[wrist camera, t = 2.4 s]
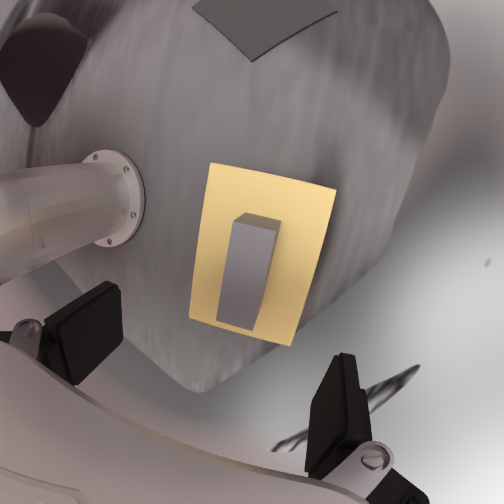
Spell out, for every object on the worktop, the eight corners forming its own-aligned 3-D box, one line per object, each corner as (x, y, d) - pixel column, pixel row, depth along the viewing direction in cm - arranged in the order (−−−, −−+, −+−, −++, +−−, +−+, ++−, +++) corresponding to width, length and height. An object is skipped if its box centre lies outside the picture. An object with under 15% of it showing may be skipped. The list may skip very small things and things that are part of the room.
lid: (291, 339, 23) (286, 373, 19) (192, 312, 24) (171, 339, 20) (334, 189, 19) (343, 194, 15) (215, 162, 20) (191, 162, 16)
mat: (252, 62, 24) (251, 60, 23) (192, 8, 22) (191, 7, 22) (337, 11, 20) (337, 10, 19) (269, -38, 18) (269, -39, 18)
